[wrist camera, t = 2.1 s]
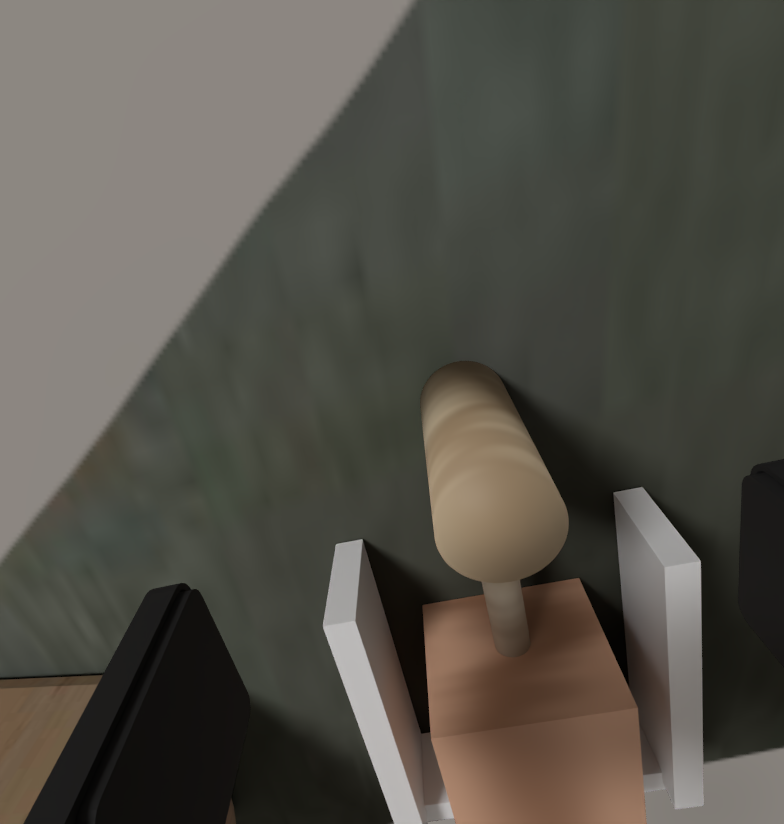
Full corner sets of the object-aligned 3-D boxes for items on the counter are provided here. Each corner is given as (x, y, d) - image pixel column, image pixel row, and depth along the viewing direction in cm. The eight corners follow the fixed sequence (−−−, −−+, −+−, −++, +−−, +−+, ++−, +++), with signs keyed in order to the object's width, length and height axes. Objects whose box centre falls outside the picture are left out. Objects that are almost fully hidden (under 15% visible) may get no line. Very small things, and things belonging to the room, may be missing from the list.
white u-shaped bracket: (642, 487, 19) (700, 560, 16) (655, 714, 24) (703, 814, 20) (336, 544, 20) (322, 626, 17) (403, 752, 25) (404, 853, 21)
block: (551, 341, 17) (644, 442, 11) (592, 689, 23) (668, 888, 17) (363, 382, 18) (345, 501, 11) (450, 711, 24) (471, 912, 17)
